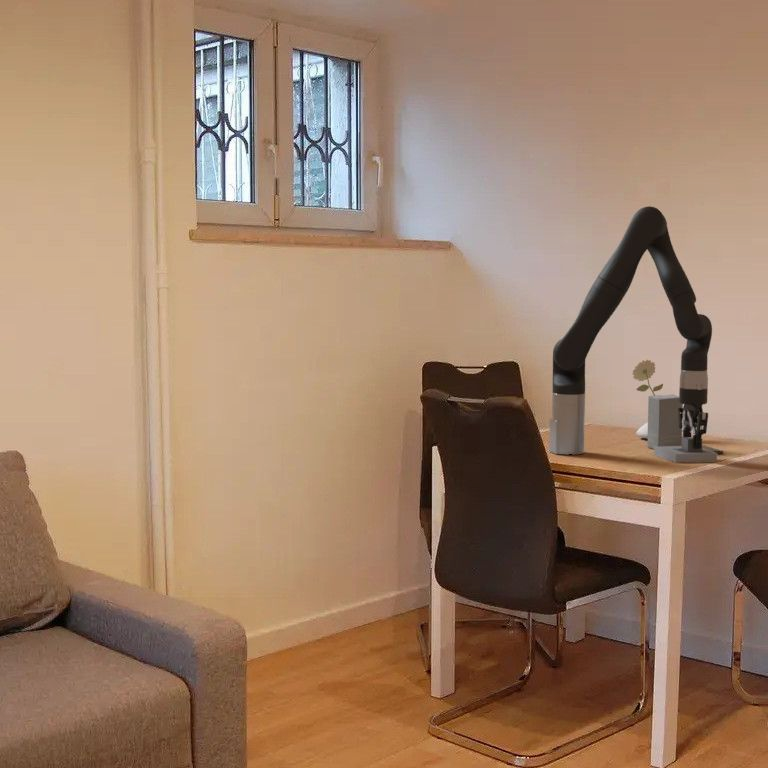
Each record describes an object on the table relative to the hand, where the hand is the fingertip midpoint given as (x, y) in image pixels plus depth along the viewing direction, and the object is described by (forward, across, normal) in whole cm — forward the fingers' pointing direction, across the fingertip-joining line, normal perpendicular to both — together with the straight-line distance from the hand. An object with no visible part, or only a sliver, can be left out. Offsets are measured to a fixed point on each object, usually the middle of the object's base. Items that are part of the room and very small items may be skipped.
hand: (691, 446), depth 310 cm
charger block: (+4, 0, 0) cm, 4 cm away
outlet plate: (+4, -2, -1) cm, 4 cm away
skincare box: (+4, -20, +1) cm, 20 cm away
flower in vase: (+4, -40, +6) cm, 41 cm away
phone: (+4, -13, +10) cm, 17 cm away
